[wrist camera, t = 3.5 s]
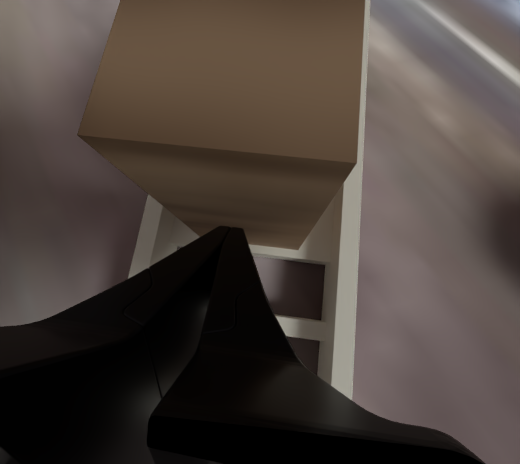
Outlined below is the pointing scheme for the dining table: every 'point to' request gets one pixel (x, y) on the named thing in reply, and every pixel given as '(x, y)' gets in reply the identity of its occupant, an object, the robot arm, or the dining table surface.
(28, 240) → the dining table surface
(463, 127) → the dining table surface
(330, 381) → the trap box
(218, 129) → the tan upright block
